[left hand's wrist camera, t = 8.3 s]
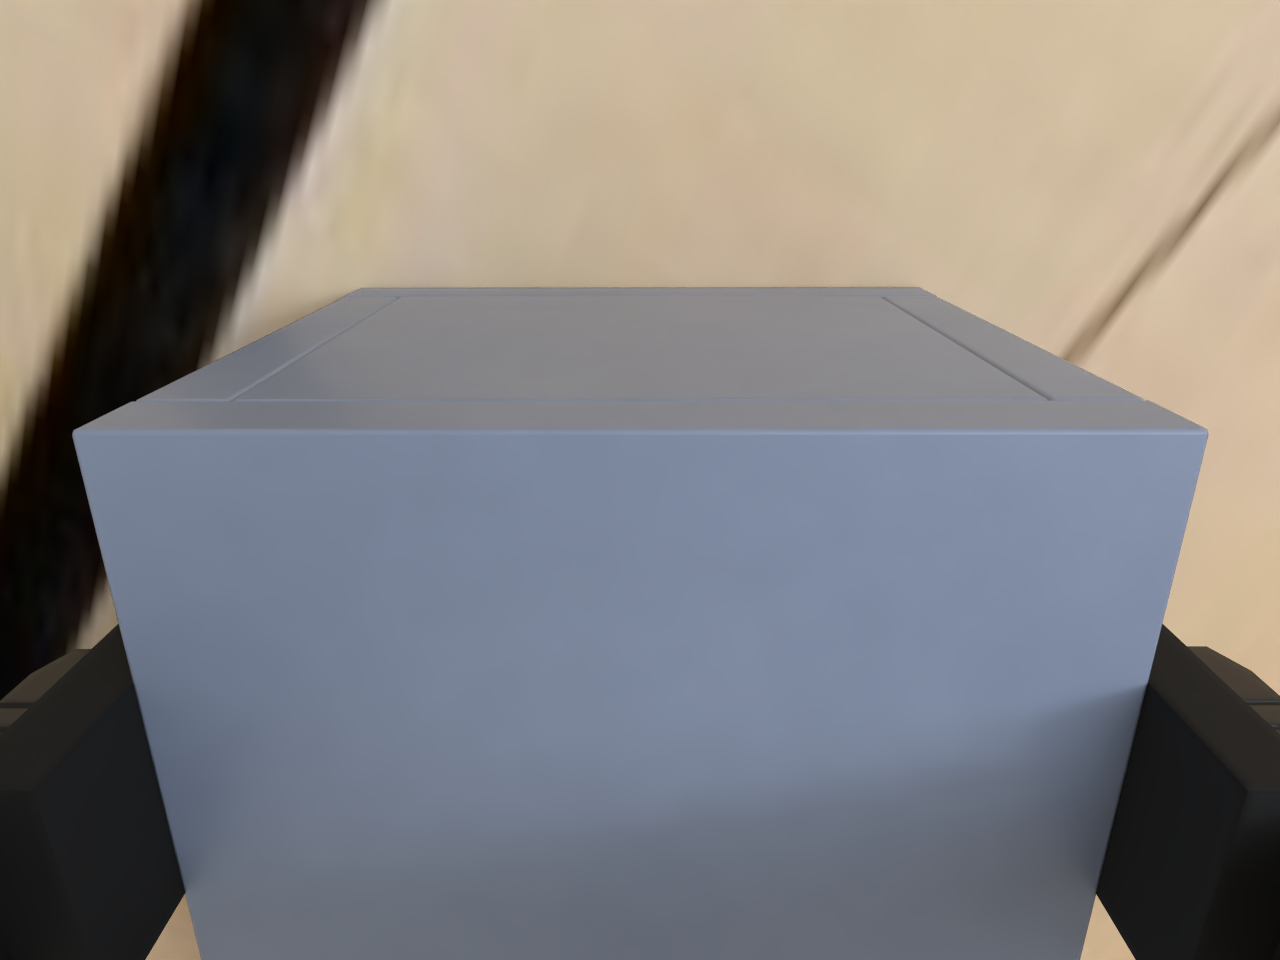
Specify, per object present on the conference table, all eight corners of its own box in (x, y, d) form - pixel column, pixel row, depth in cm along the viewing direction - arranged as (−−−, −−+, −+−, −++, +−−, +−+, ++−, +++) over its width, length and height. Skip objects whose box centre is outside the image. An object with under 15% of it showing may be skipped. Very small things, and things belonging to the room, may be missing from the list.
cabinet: (827, 1114, 23) (922, 1606, 15) (454, 1114, 23) (359, 1607, 15) (921, 286, 15) (1212, 429, 8) (359, 287, 15) (67, 430, 8)
